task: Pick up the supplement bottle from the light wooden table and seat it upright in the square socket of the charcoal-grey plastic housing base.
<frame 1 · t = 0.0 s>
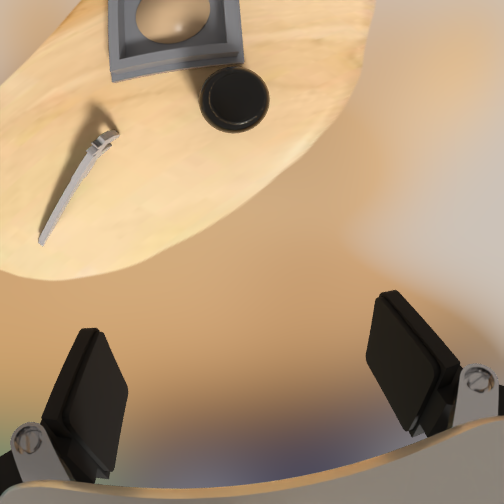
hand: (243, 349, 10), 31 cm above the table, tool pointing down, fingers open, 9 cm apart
housing: (173, 14, 29), on the table
supplement bottle: (230, 103, 35), on the table
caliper: (74, 191, 37), on the table
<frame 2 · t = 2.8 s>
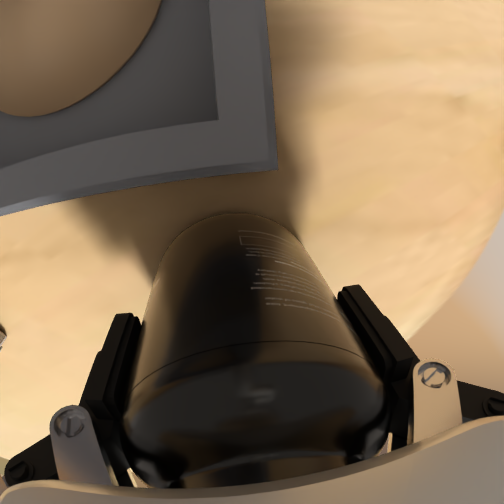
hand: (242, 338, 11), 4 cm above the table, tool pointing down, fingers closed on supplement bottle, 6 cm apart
housing: (64, 16, 8), on the table
supplement bottle: (234, 281, 14), on the table, touching gripper
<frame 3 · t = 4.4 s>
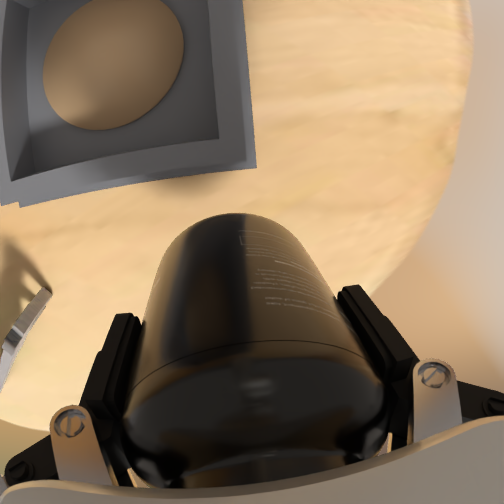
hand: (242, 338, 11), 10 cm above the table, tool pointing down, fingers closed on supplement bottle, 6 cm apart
housing: (113, 60, 15), on the table
supplement bottle: (234, 281, 14), point 6 cm above the table, touching gripper
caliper: (15, 350, 22), on the table
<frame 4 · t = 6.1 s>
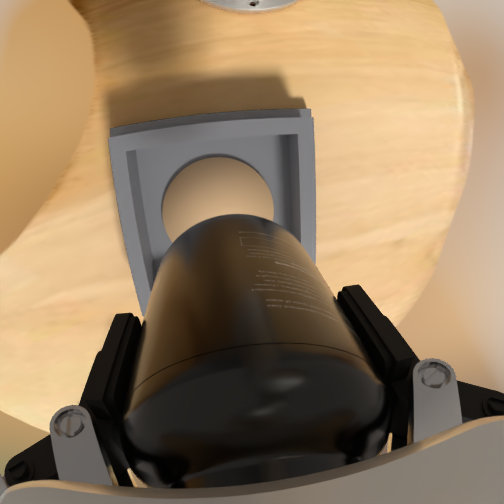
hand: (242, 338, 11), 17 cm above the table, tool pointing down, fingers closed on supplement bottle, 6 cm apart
housing: (217, 209, 26), on the table
supplement bottle: (234, 282, 14), point 13 cm above the table, touching gripper
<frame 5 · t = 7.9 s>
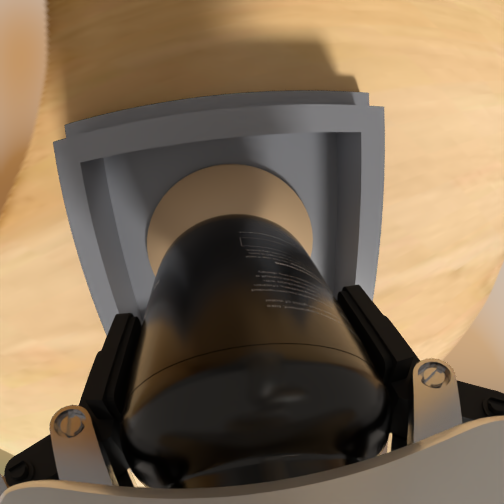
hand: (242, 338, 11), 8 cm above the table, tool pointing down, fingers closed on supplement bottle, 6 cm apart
housing: (229, 239, 18), on the table
supplement bottle: (234, 282, 14), point 4 cm above the table, touching gripper
when the fingers open (6 cm above the table, at t = 9.3 s): supplement bottle drops 1 cm, resting on housing.
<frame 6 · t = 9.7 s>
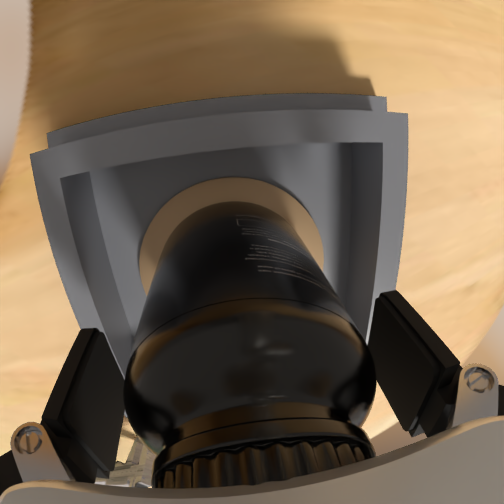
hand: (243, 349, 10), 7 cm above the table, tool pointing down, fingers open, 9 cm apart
housing: (231, 260, 16), on the table
supplement bottle: (232, 266, 15), point 1 cm above the table, touching housing
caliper: (103, 458, 24), on the table
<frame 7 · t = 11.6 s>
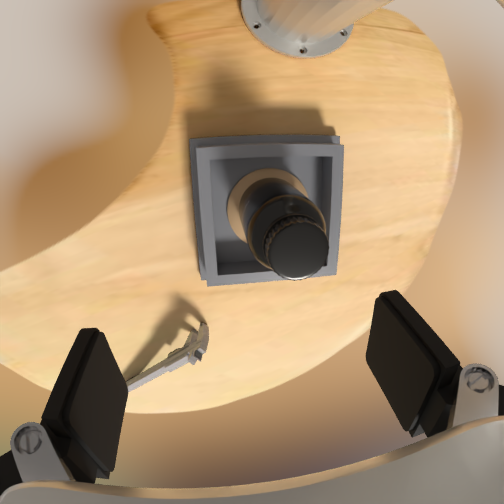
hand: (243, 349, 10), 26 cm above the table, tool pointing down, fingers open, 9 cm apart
housing: (267, 206, 35), on the table
supplement bottle: (269, 207, 34), point 1 cm above the table, touching housing
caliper: (156, 359, 42), on the table
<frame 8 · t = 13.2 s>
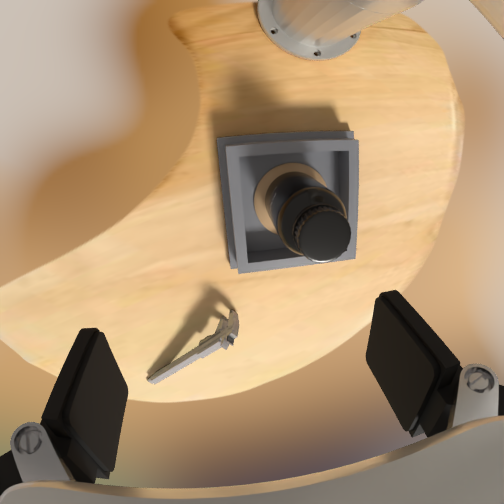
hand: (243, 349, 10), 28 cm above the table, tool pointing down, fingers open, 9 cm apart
housing: (290, 198, 38), on the table
supplement bottle: (292, 198, 36), point 1 cm above the table, touching housing
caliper: (187, 348, 46), on the table
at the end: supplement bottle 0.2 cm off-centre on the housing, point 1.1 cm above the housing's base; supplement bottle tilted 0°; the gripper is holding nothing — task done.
